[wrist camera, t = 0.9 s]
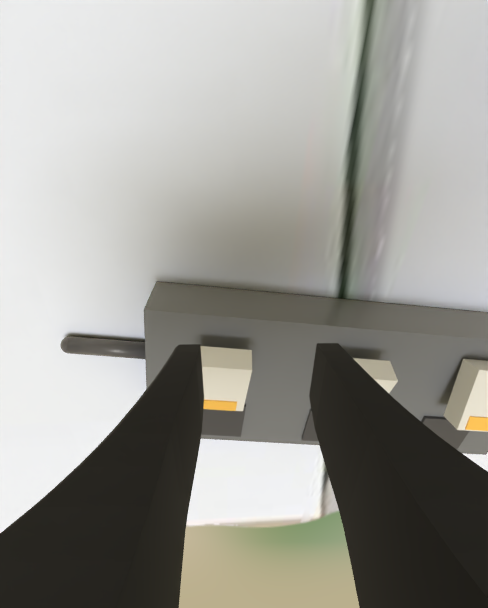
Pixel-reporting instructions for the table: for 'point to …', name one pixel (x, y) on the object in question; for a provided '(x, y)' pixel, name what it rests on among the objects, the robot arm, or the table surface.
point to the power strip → (306, 353)
